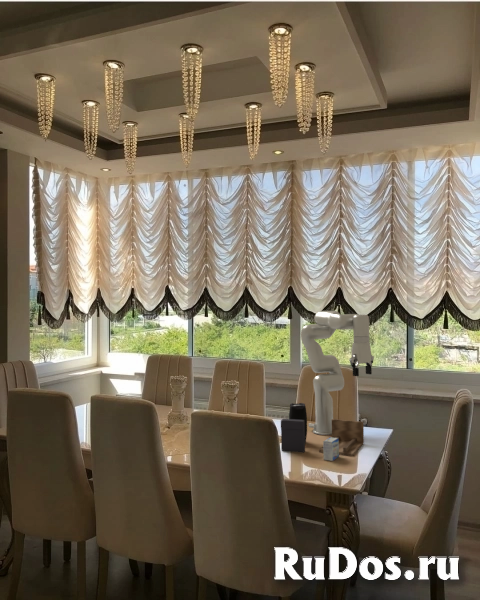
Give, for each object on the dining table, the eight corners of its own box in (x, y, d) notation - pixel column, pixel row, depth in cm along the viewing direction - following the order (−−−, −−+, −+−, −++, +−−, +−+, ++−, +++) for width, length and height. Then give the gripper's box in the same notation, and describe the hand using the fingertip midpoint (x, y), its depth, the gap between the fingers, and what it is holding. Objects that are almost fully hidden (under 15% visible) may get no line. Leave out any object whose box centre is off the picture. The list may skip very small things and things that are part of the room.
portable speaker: (304, 445, 264) (303, 406, 264) (286, 443, 268) (286, 405, 268) (309, 441, 272) (308, 403, 272) (292, 439, 276) (291, 401, 276)
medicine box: (332, 461, 238) (332, 442, 238) (323, 460, 241) (323, 440, 241) (339, 456, 245) (338, 438, 245) (330, 455, 247) (329, 436, 247)
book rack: (319, 452, 253) (318, 428, 253) (332, 440, 272) (332, 419, 272) (352, 456, 246) (352, 431, 246) (363, 444, 265) (363, 421, 265)
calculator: (305, 450, 256) (305, 419, 256) (303, 453, 252) (303, 421, 252) (283, 448, 259) (282, 418, 259) (281, 451, 255) (280, 420, 255)
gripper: (366, 338, 268) (367, 372, 267) (343, 340, 257) (344, 376, 257) (378, 339, 262) (379, 374, 262) (356, 341, 251) (356, 377, 251)
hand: (362, 375), depth 259 cm, fingers open, 9 cm apart
